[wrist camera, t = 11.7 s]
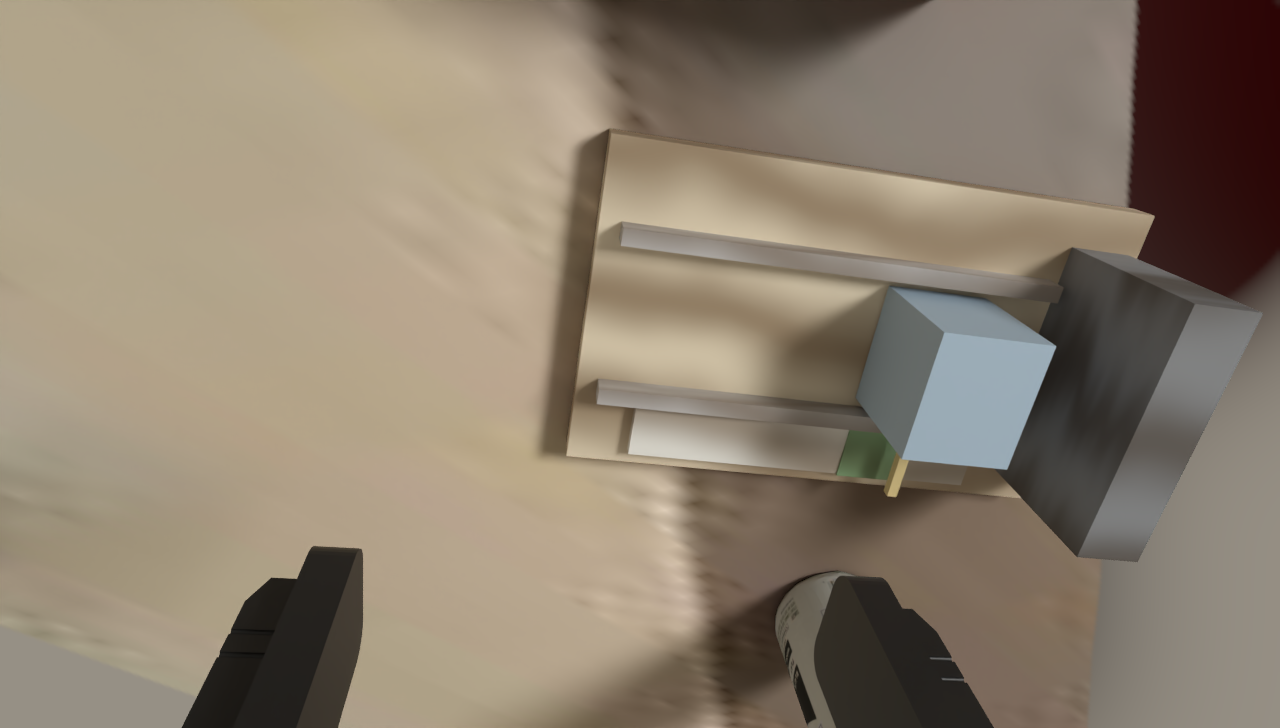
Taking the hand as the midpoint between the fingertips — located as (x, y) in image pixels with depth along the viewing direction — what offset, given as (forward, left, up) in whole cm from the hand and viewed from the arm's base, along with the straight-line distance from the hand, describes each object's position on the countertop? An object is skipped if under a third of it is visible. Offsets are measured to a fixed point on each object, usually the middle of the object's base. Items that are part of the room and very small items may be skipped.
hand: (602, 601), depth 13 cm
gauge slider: (+6, +18, -24) cm, 30 cm away
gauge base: (+3, +14, -25) cm, 29 cm away
